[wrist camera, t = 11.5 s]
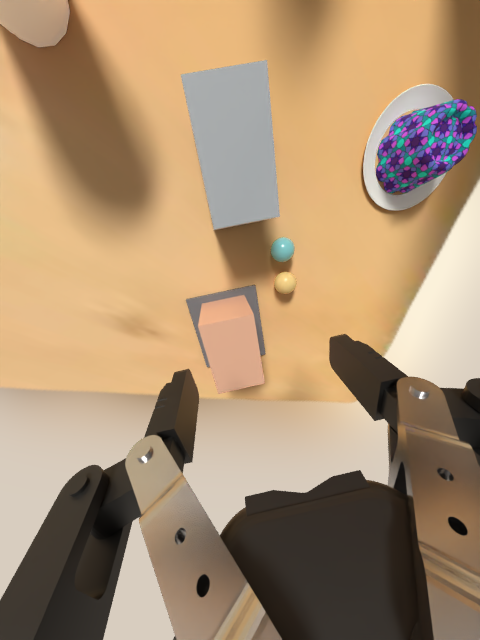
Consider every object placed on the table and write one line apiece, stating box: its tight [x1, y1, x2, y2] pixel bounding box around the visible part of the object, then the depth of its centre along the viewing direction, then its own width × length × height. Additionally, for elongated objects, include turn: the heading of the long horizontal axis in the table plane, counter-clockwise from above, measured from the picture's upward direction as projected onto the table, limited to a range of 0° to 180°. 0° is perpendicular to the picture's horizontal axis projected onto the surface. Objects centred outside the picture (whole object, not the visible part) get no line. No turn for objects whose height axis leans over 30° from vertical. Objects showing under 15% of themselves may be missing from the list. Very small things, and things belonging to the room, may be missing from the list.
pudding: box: [363, 84, 477, 211], centre depth 22 cm, size 12×12×5 cm
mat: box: [186, 285, 265, 367], centre depth 30 cm, size 10×12×1 cm
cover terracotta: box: [198, 295, 265, 394], centre depth 27 cm, size 6×10×8 cm, turn 10°
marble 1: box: [271, 237, 295, 262], centre depth 25 cm, size 3×3×3 cm
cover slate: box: [181, 60, 280, 230], centre depth 19 cm, size 6×10×8 cm, turn 10°
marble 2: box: [274, 272, 296, 294], centre depth 27 cm, size 3×3×3 cm
